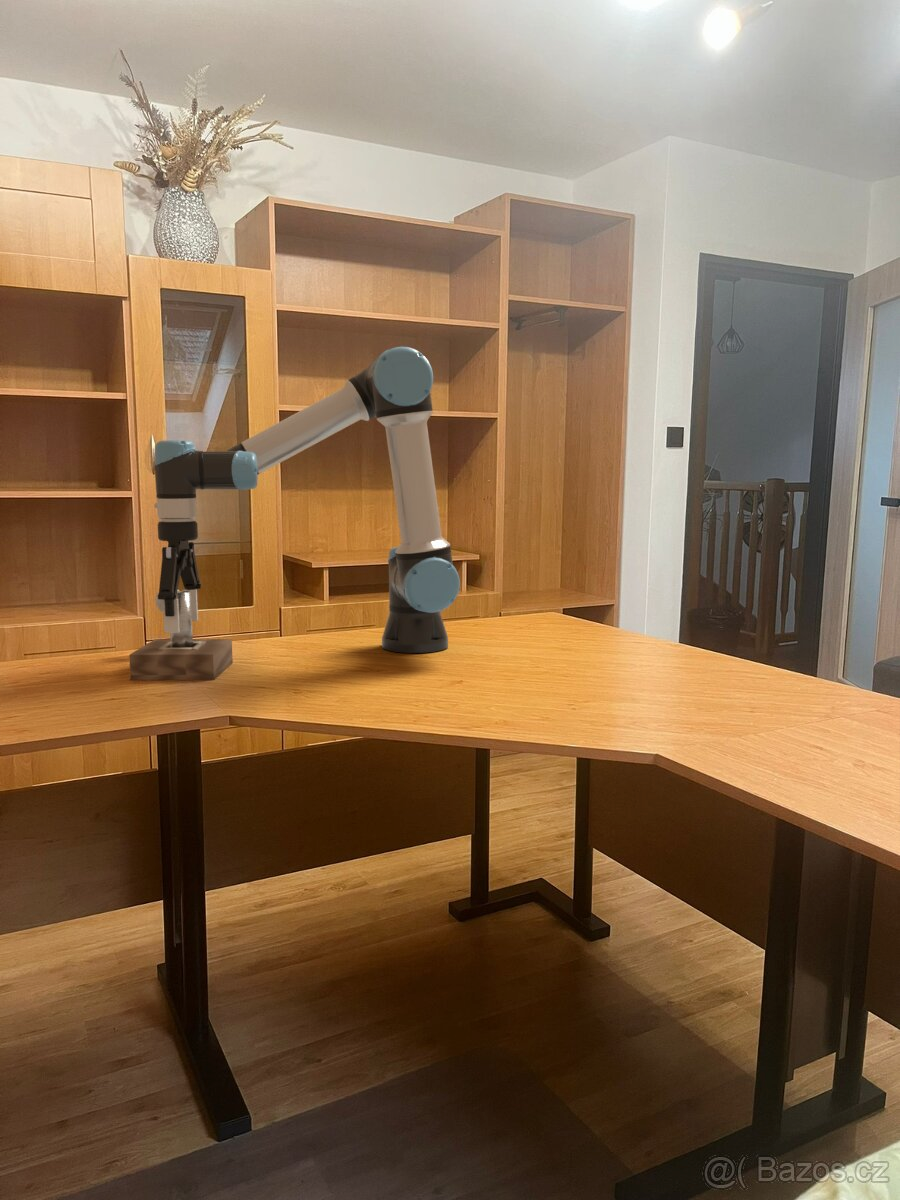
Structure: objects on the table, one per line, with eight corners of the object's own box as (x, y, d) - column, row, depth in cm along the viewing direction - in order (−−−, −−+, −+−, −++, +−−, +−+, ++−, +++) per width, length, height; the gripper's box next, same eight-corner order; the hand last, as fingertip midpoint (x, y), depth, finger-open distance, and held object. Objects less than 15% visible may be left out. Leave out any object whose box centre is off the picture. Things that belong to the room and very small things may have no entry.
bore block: (232, 662, 189) (231, 637, 188) (214, 679, 173) (213, 652, 173) (156, 662, 189) (155, 637, 188) (130, 680, 173) (129, 653, 172)
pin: (196, 663, 183) (193, 590, 181) (190, 668, 179) (187, 593, 177) (176, 664, 183) (173, 590, 181) (170, 668, 179) (167, 593, 177)
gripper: (176, 517, 189) (180, 616, 192) (137, 523, 165) (142, 638, 168) (212, 516, 189) (215, 616, 192) (178, 523, 165) (183, 637, 168)
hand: (181, 626), depth 180 cm, fingers open, 13 cm apart
